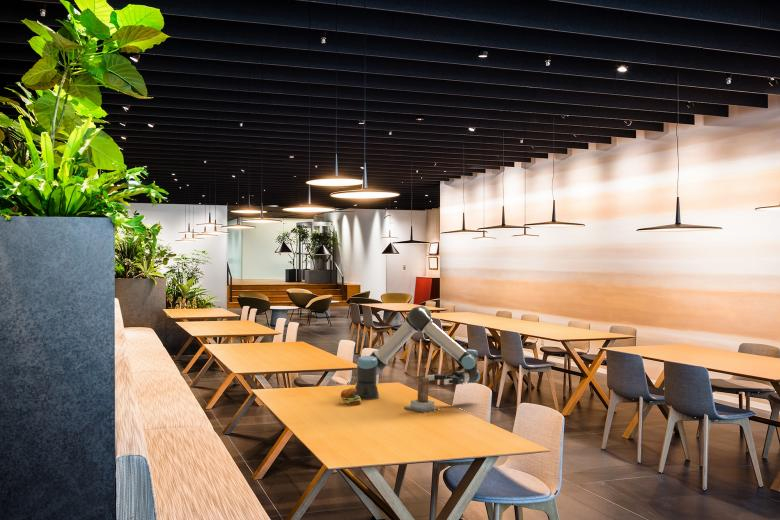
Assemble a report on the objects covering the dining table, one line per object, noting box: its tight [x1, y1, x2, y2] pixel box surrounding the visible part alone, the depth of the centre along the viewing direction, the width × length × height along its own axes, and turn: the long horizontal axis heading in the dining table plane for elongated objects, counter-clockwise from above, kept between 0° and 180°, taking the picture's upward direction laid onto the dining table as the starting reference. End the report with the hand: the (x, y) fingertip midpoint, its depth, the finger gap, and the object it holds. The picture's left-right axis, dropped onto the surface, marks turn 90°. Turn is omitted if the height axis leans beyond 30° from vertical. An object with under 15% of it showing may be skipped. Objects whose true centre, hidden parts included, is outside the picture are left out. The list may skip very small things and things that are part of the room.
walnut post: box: [416, 376, 430, 403], centre depth 362 cm, size 4×4×16 cm
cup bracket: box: [403, 399, 441, 414], centre depth 362 cm, size 14×14×4 cm
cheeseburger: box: [340, 387, 362, 406], centre depth 368 cm, size 10×11×10 cm
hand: (435, 380), depth 370 cm, fingers open, 13 cm apart
